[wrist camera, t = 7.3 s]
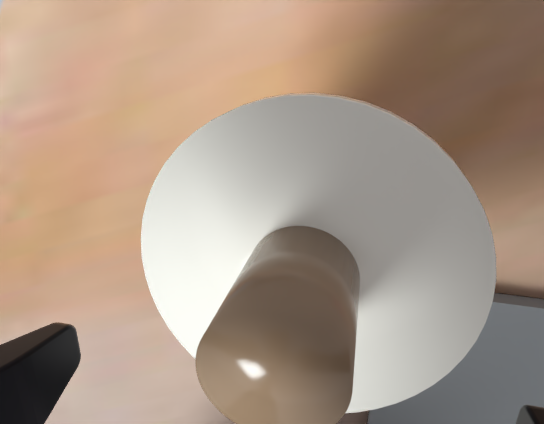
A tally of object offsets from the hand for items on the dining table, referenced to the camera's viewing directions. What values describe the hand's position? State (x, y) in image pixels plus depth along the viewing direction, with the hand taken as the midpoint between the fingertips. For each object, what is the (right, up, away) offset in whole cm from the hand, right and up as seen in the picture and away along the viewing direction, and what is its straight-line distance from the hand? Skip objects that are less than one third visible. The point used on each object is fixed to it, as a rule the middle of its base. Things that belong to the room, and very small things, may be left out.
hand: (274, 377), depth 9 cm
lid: (+1, +2, +4) cm, 5 cm away
